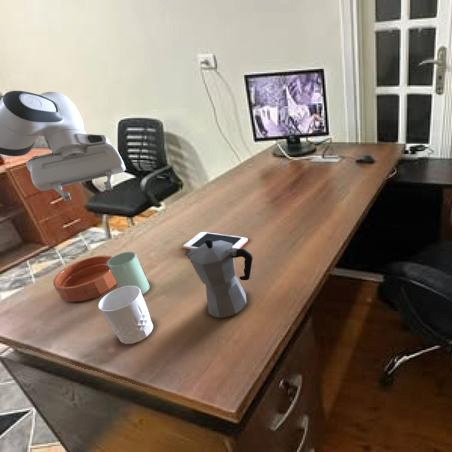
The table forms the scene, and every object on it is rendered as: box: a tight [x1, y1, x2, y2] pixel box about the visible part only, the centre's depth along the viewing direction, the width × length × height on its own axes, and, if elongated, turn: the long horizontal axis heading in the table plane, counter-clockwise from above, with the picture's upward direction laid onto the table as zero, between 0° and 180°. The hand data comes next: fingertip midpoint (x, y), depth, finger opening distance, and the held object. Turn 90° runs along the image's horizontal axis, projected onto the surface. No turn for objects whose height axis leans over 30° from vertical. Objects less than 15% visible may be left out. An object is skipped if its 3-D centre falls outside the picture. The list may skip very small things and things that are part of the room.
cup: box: [107, 251, 151, 296], centre depth 88 cm, size 6×6×10 cm
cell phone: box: [182, 231, 249, 250], centre depth 107 cm, size 9×18×1 cm, turn 69°
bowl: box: [52, 254, 117, 303], centre depth 93 cm, size 14×14×5 cm
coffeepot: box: [183, 239, 254, 319], centre depth 78 cm, size 15×9×18 cm, turn 83°
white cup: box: [97, 286, 154, 345], centre depth 75 cm, size 8×8×10 cm
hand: (88, 194), depth 90 cm, fingers open, 8 cm apart
